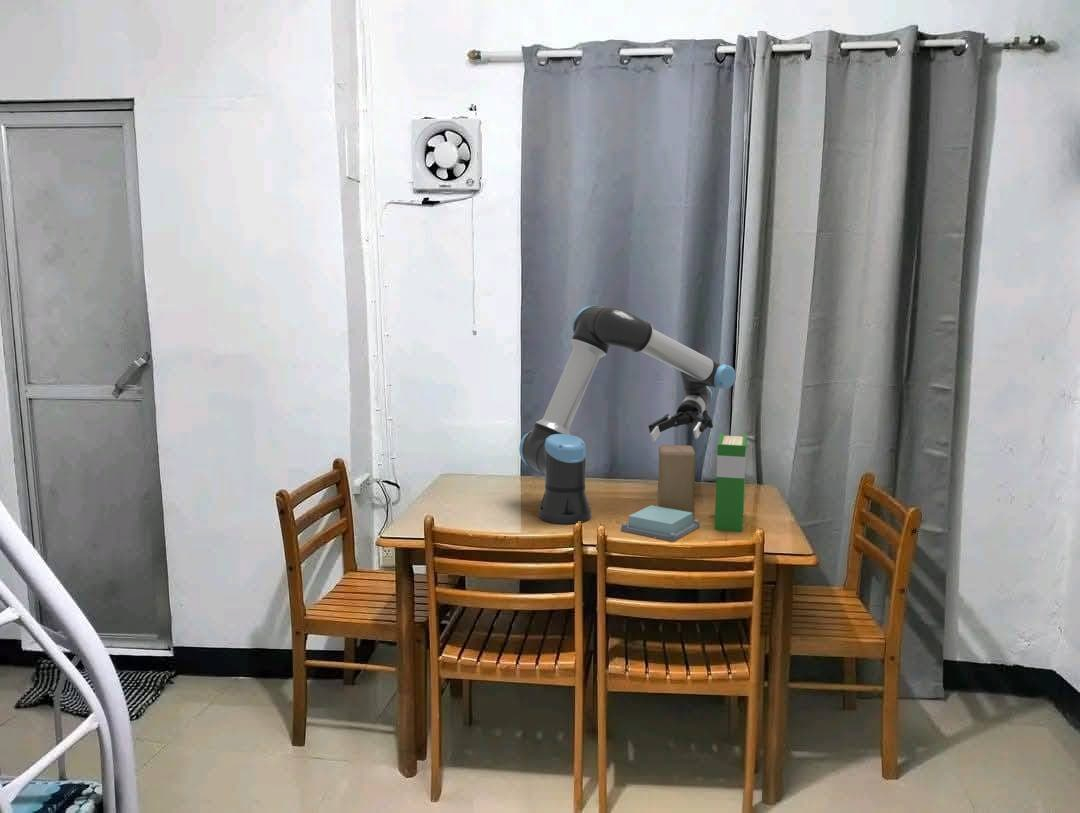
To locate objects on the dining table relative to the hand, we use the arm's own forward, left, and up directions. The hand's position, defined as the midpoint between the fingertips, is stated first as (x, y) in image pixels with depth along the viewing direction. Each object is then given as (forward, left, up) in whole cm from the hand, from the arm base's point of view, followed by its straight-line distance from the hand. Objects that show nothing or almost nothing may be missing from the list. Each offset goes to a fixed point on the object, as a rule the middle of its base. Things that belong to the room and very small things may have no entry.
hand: (673, 436), depth 239 cm
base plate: (+8, -22, -22) cm, 32 cm away
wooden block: (+5, -7, -22) cm, 23 cm away
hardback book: (+20, -4, -22) cm, 30 cm away
